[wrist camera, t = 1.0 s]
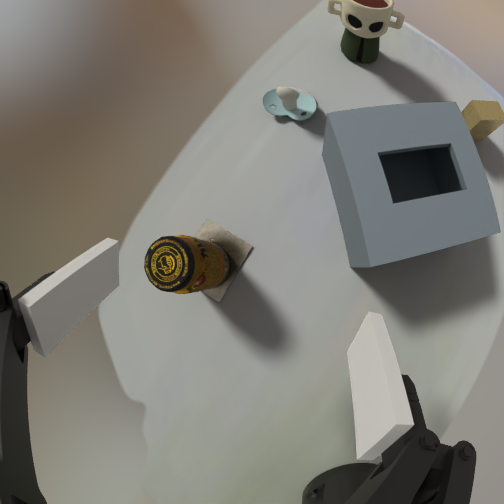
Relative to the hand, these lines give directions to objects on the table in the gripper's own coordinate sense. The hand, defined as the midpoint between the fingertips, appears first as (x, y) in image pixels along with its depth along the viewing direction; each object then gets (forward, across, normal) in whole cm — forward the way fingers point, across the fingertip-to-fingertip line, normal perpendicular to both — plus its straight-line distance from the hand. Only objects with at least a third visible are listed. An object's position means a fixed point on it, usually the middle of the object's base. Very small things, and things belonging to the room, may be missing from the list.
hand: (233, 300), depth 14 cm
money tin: (+24, -15, -4) cm, 29 cm away
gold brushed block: (+29, -26, -18) cm, 44 cm away
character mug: (+36, -7, -26) cm, 45 cm away
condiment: (+21, +6, +10) cm, 24 cm away
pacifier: (+31, +1, -12) cm, 33 cm away
